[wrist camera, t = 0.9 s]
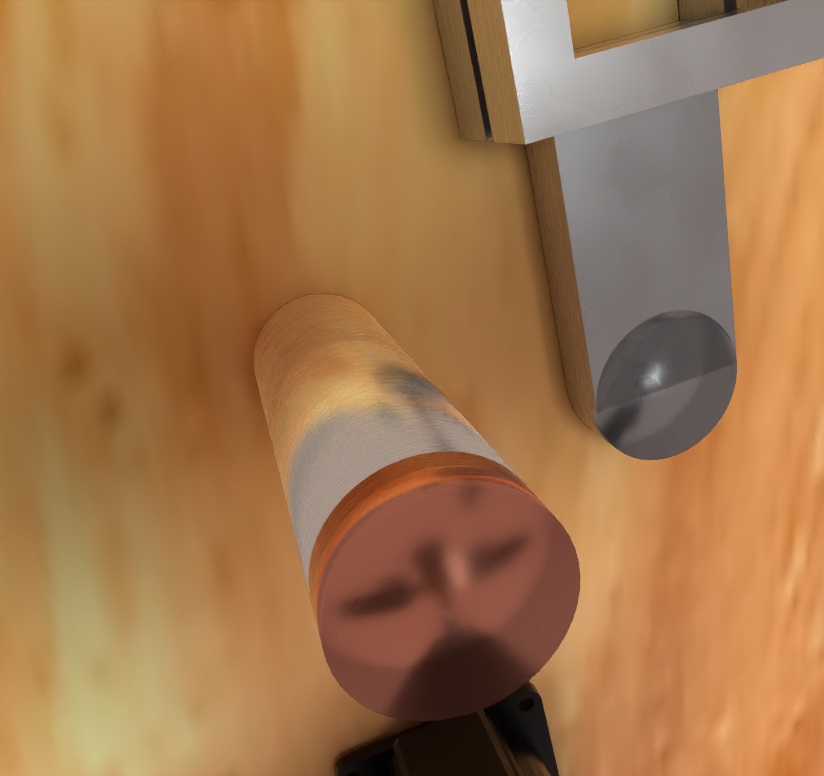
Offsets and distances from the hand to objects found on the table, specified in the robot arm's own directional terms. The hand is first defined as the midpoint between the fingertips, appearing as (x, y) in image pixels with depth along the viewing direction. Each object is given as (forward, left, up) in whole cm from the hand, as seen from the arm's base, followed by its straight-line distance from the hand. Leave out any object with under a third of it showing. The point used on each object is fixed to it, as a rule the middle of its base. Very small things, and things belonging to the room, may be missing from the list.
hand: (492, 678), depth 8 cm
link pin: (0, 0, -11) cm, 11 cm away
